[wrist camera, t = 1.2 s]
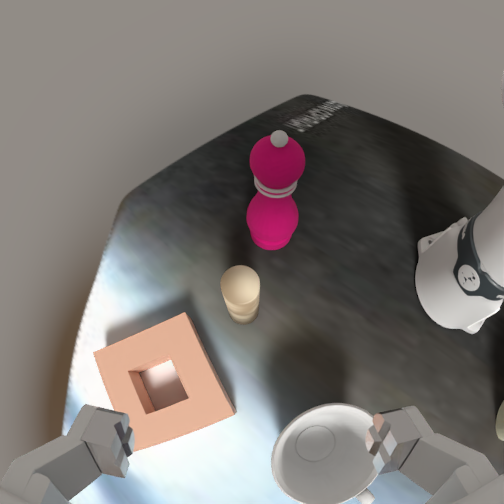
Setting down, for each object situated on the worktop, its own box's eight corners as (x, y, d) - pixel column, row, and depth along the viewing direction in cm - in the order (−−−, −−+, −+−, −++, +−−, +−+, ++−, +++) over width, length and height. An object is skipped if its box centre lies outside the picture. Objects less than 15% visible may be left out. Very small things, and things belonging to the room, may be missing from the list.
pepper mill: (239, 222, 46) (231, 121, 28) (280, 205, 48) (292, 104, 30) (259, 261, 44) (263, 168, 25) (303, 242, 45) (330, 146, 27)
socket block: (191, 319, 40) (185, 312, 36) (236, 411, 34) (234, 414, 31) (106, 356, 37) (93, 352, 34) (144, 446, 32) (133, 451, 28)
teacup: (312, 508, 28) (328, 538, 19) (248, 434, 33) (246, 450, 24) (383, 456, 31) (417, 470, 22) (323, 381, 36) (345, 379, 27)
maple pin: (250, 291, 42) (248, 259, 32) (263, 316, 40) (266, 291, 30) (224, 304, 41) (214, 275, 31) (236, 329, 39) (230, 309, 29)
